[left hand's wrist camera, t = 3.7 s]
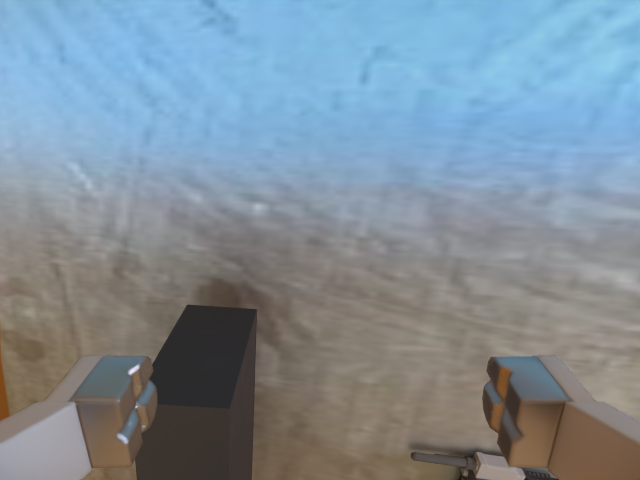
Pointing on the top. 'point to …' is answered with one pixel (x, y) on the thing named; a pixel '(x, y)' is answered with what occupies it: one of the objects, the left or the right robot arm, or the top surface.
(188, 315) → the box
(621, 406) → the top surface
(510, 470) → the walkie-talkie
